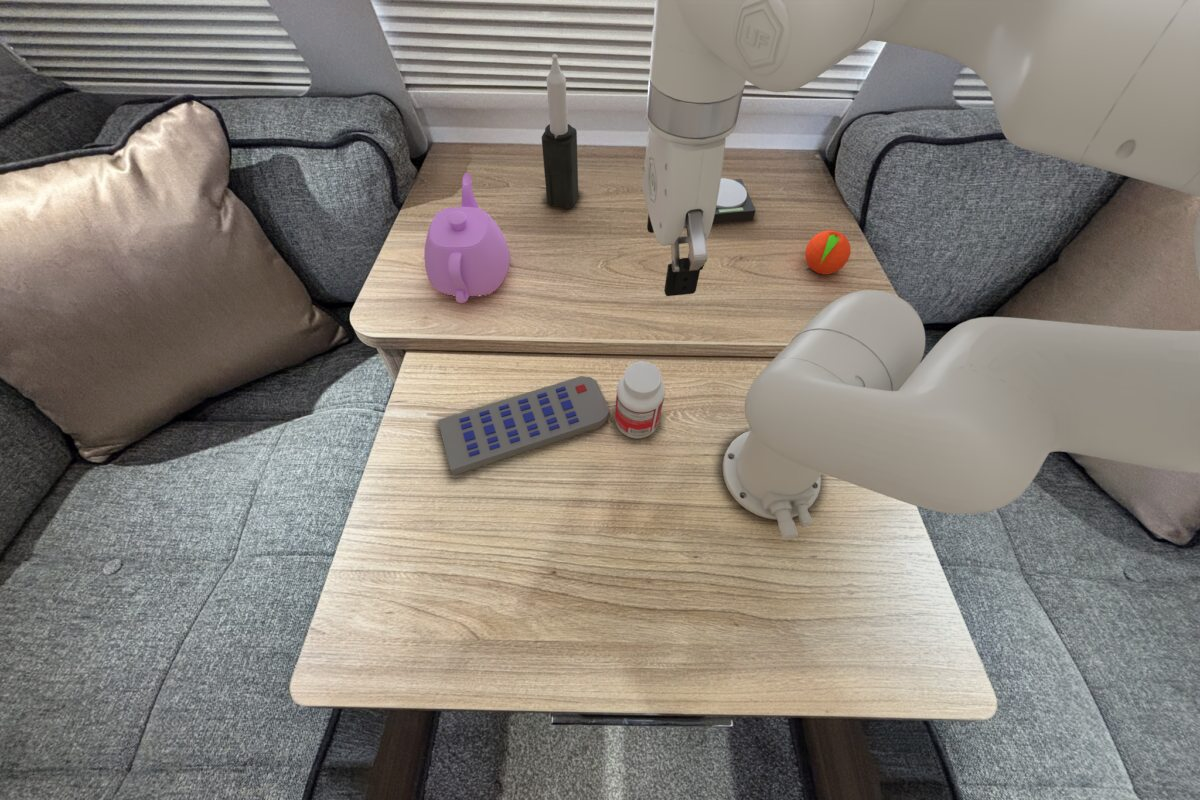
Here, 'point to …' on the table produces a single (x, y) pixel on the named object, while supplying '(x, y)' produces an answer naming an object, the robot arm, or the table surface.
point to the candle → (559, 144)
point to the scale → (733, 202)
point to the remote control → (522, 423)
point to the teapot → (465, 249)
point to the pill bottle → (639, 400)
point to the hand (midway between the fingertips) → (669, 260)
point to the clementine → (827, 252)
